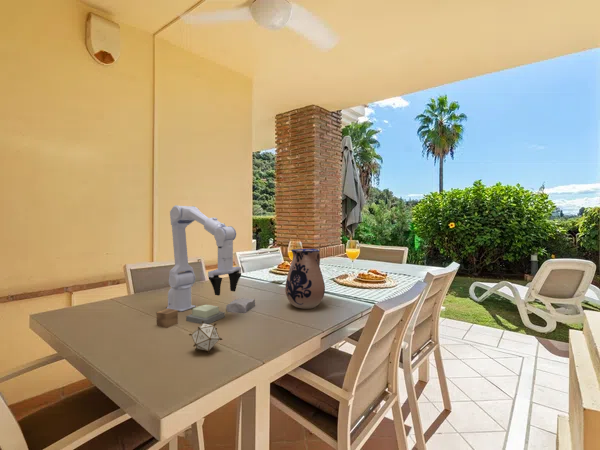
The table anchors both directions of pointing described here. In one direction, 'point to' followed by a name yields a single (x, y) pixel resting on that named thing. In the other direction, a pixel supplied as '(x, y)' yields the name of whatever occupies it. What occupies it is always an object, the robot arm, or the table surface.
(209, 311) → the sage block
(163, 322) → the walnut cube
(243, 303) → the stone block
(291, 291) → the ceramic pitcher
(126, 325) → the table surface
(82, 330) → the table surface
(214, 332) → the game die
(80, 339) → the table surface
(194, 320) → the grey square slab
